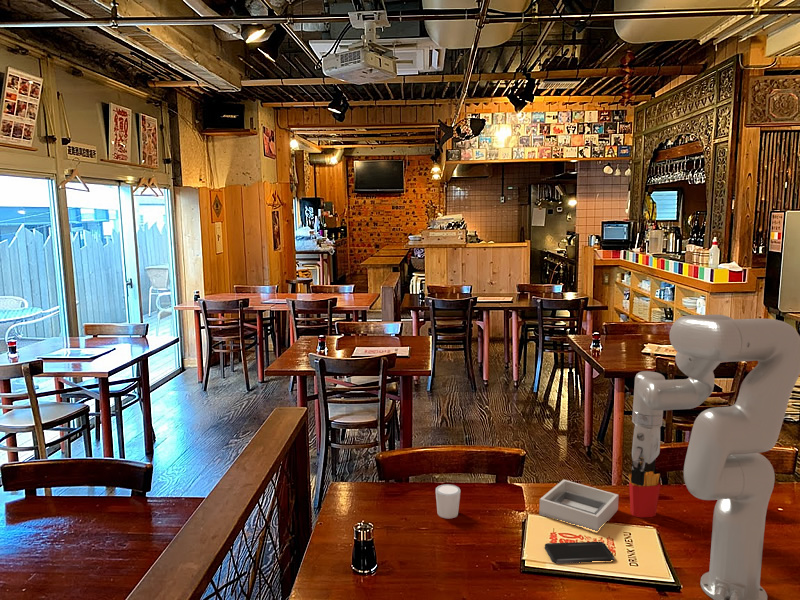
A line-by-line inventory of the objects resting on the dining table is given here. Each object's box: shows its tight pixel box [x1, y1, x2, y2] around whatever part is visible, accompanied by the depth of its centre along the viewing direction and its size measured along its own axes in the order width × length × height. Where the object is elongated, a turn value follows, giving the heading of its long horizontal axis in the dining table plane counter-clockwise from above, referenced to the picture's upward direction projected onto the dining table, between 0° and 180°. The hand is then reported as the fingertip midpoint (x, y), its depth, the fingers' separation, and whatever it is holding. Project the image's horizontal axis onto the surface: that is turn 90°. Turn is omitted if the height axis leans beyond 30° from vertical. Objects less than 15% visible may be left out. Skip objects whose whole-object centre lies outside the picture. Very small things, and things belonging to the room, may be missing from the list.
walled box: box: [538, 478, 620, 531], centre depth 164 cm, size 16×16×4 cm
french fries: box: [627, 471, 661, 518], centre depth 162 cm, size 8×4×12 cm, turn 96°
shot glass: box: [435, 483, 461, 520], centre depth 163 cm, size 7×7×7 cm
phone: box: [544, 541, 615, 565], centre depth 144 cm, size 8×1×15 cm
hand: (642, 477), depth 163 cm, fingers open, 9 cm apart
